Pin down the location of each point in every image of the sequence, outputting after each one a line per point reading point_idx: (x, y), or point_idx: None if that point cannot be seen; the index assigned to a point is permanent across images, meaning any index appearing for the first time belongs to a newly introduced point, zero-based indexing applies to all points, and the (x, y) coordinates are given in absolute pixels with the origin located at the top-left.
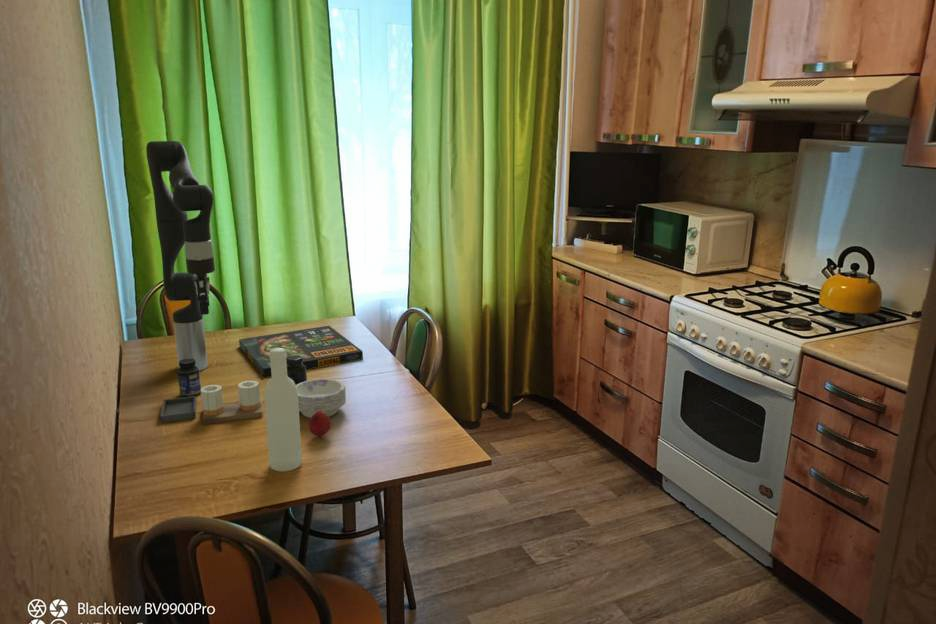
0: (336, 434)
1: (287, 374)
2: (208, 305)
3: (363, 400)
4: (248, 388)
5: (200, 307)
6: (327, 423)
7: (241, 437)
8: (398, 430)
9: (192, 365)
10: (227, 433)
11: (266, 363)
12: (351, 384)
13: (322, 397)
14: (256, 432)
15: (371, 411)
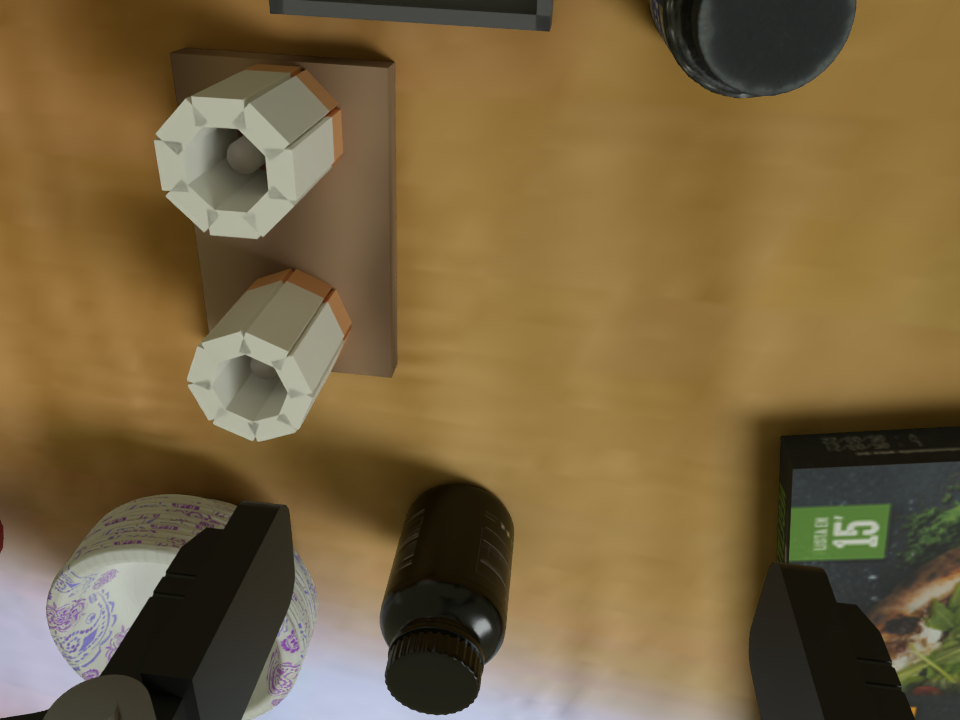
0: (6, 552)
1: (401, 577)
2: (751, 650)
3: (298, 696)
4: (191, 379)
5: (192, 590)
6: None
7: (7, 229)
8: (21, 701)
9: (702, 60)
10: (58, 170)
11: (880, 498)
12: (481, 709)
13: (51, 631)
14: (54, 297)
15: None
